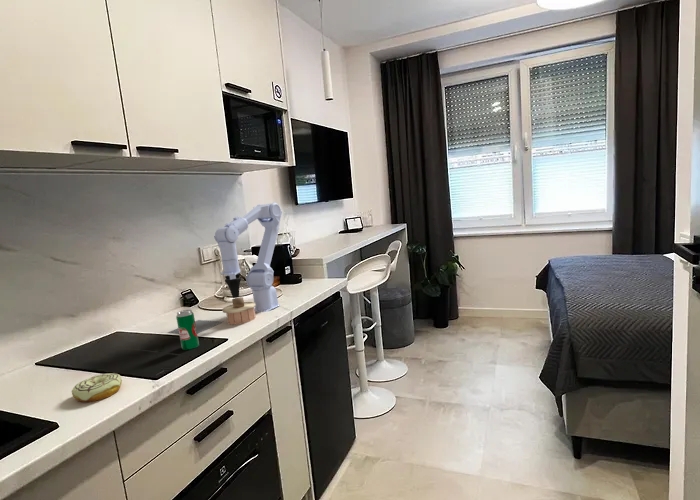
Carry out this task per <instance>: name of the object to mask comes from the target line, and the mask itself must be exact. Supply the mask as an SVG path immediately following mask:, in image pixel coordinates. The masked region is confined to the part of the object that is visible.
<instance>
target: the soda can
mask: <svg viewBox="0 0 700 500" xmlns="http://www.w3.org/2000/svg"><path fill="white" fill-rule="evenodd" d="M175 318H176V324H177V328H178V329H179V334H178V335H179V340H180V345H181V349H182V350H183V351H189V350H190V351H191V350H194V349H196V348H198V347H199V346H200V341H199V337H198V335H199V334H197V330H196V324H195V321H196V319H195V314H194V312H193V310H192V309H184V310H180V311H177V312H176V316H175Z"/></svg>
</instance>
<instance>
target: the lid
mask: <svg viewBox="0 0 700 500" xmlns="http://www.w3.org/2000/svg"><path fill="white" fill-rule="evenodd" d="M231 302H232V304H230V305H227V306H224V307H223V308H222V309H221V310H222V313H224V314H226V313H237V312H242V311H246V310H249V309H252V308H254V309H255V306H256V305H255V303H254V301H245V300H244V297H242V296H241V297H240V296H239V297H236V298H233V299H232V300H231Z"/></svg>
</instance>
